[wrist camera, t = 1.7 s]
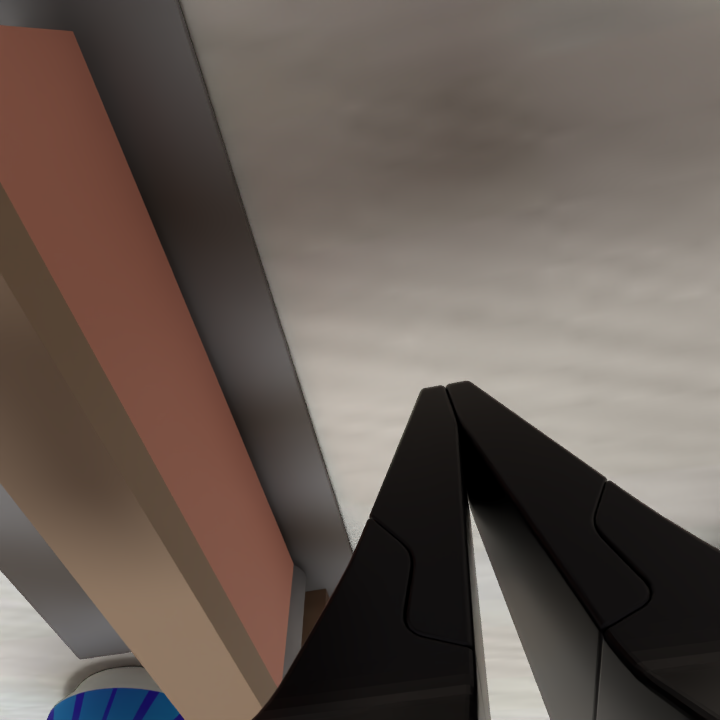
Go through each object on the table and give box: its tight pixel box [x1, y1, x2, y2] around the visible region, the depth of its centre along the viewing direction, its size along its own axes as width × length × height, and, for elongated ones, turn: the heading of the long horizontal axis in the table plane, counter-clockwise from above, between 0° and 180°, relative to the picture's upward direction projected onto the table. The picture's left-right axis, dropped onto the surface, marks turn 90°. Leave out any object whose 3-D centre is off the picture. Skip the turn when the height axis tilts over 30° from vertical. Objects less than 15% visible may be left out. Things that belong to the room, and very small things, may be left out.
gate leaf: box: [0, 25, 306, 720], centre depth 13 cm, size 20×2×6 cm, turn 11°
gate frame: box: [0, 0, 353, 659], centre depth 13 cm, size 28×14×10 cm, turn 11°
